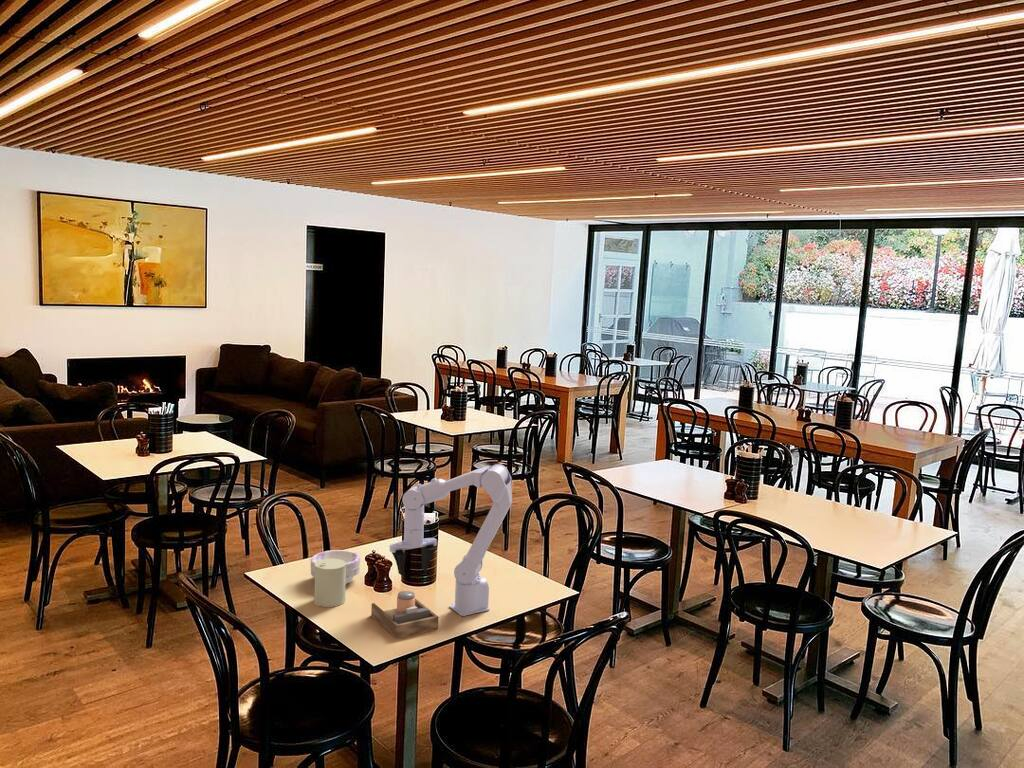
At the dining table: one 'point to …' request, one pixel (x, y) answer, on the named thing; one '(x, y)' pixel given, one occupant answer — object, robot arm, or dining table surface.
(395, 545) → the robot arm
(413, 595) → the jar
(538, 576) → the dining table surface
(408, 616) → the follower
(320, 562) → the can
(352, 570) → the paper bowls
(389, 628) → the brown wooden tray
